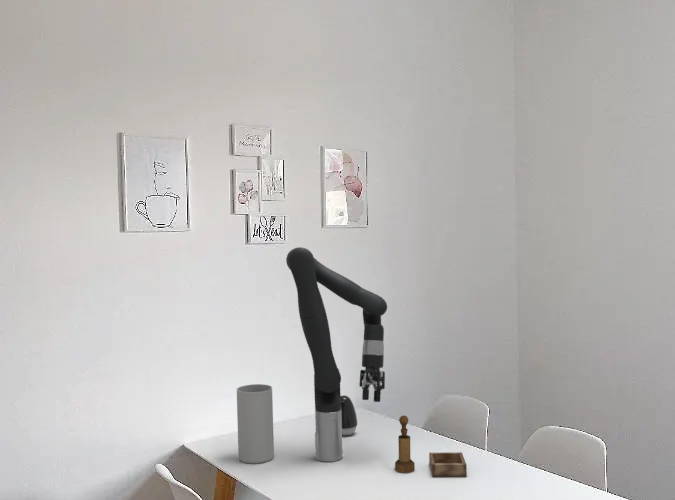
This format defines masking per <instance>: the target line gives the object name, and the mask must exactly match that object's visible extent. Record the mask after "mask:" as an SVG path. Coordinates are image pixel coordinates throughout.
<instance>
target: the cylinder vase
mask: <svg viewBox="0 0 675 500" xmlns="http://www.w3.org/2000/svg"><path fill="white" fill-rule="evenodd" d="M273 402H274V400H273V387H272V386H271V385H269V384H259V383H257V384H255V383H254V384H246V385H241V386H238V387H237V388H236V409H237V410H236V412H237V413H236V414H237V418H236V419H237V444H238V445H237V447H238V452H237V453H238V459H239V460H240V461H241V462H242V463H244V464H245V463H246V464H255V465H256V464H262V463H266V462H269V461H271V460H272V459H274V457H275V443H274V440H275V439H274V437H275V436H274V408H273V407H274V403H273Z"/></svg>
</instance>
